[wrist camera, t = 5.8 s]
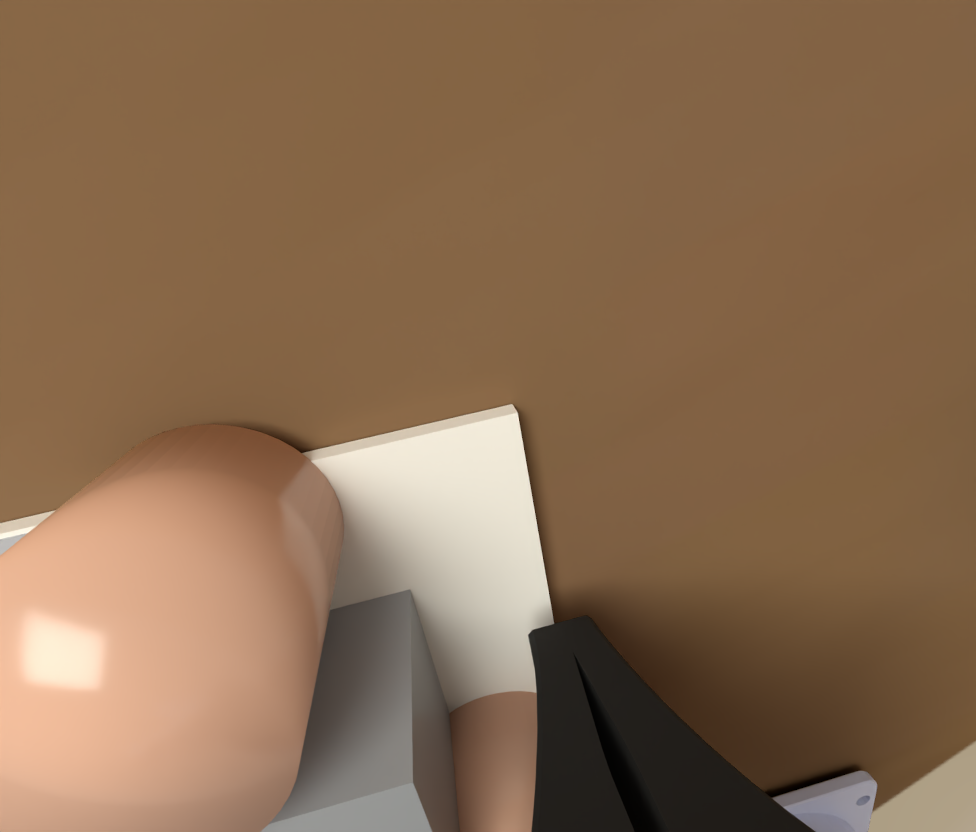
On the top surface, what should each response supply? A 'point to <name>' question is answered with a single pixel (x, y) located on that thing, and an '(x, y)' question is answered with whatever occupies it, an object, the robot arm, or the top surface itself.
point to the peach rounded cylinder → (495, 761)
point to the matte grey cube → (375, 730)
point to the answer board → (439, 543)
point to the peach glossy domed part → (167, 639)
